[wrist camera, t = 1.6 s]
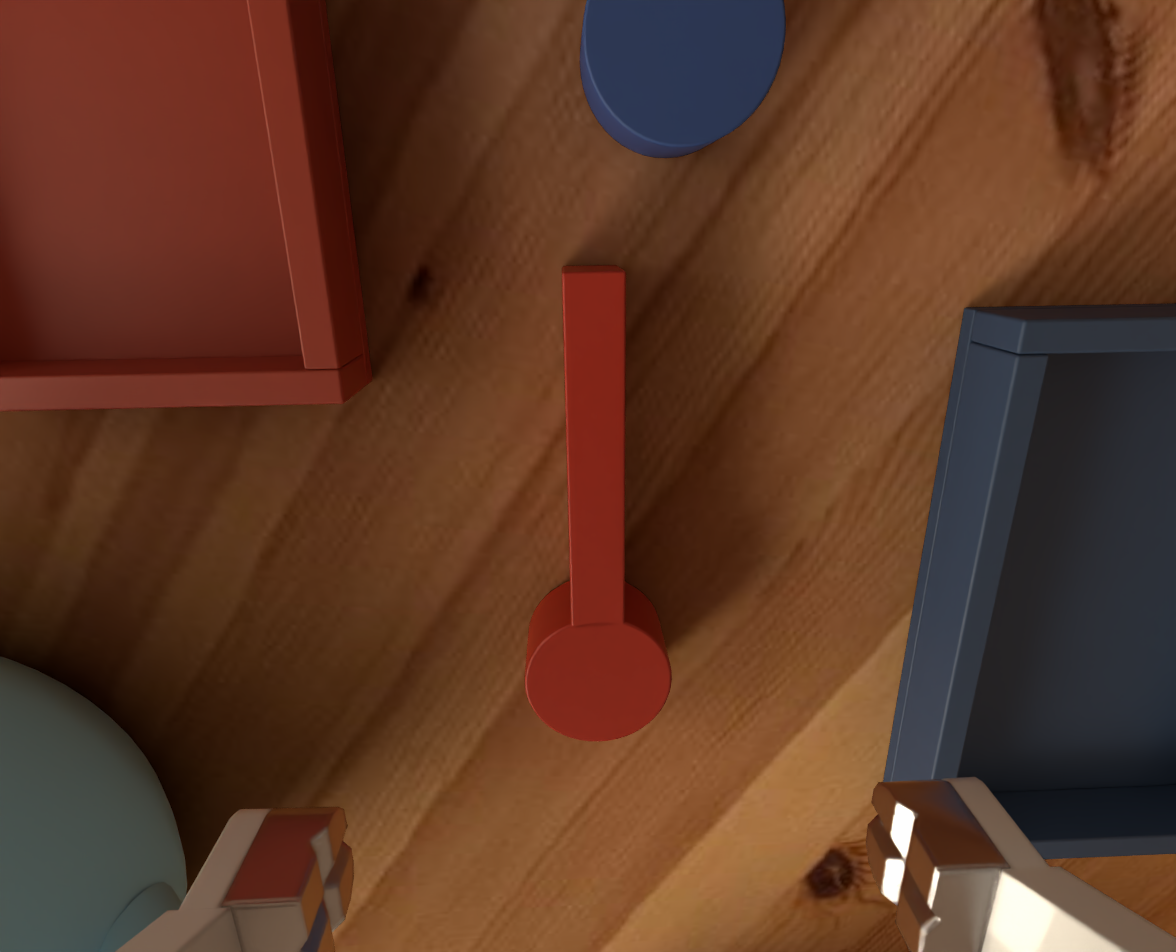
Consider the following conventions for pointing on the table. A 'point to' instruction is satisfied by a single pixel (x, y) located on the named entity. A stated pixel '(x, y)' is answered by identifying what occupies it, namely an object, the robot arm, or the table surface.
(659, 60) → the blue spoon
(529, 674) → the red spoon
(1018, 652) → the blue tray
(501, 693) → the table surface
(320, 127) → the red tray
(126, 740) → the teapot
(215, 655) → the table surface
